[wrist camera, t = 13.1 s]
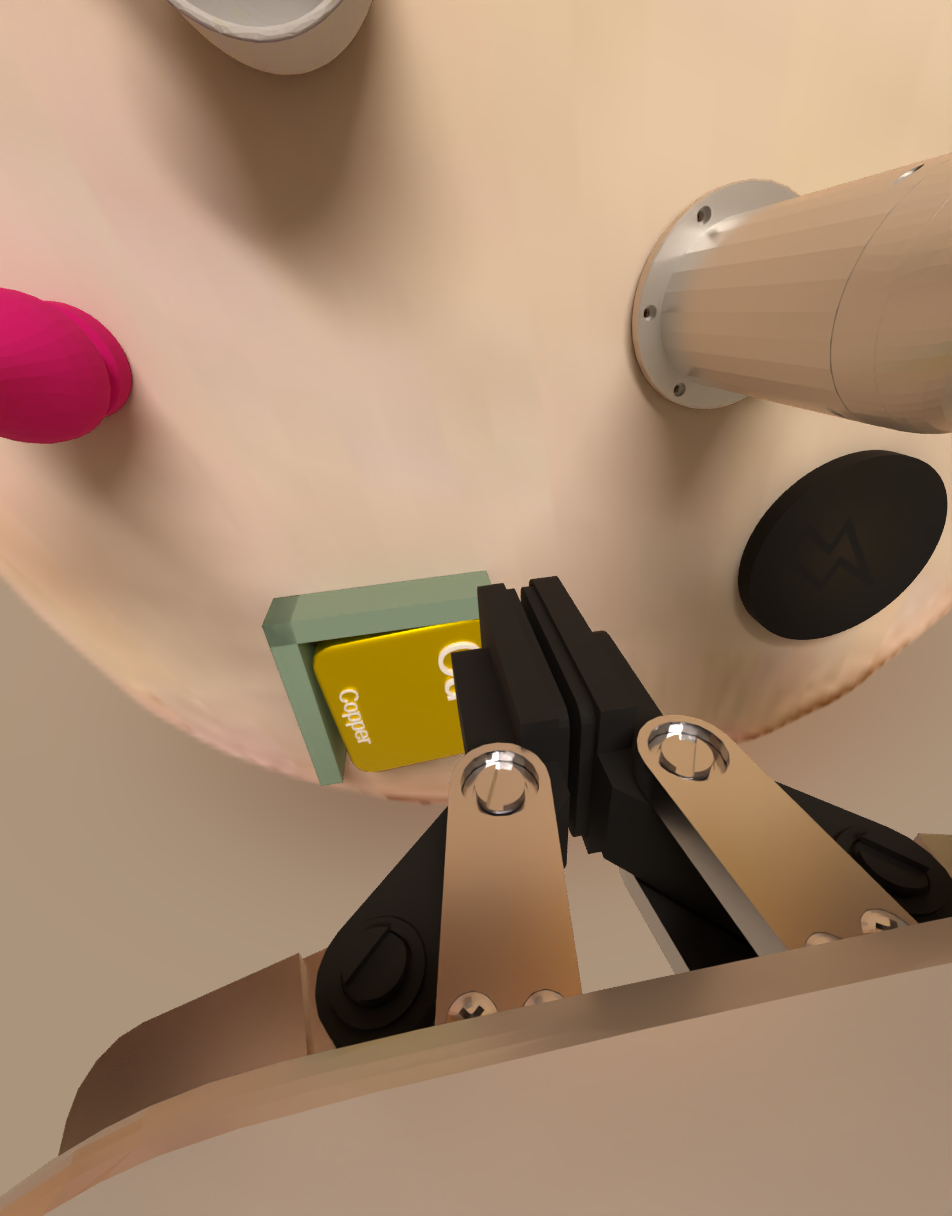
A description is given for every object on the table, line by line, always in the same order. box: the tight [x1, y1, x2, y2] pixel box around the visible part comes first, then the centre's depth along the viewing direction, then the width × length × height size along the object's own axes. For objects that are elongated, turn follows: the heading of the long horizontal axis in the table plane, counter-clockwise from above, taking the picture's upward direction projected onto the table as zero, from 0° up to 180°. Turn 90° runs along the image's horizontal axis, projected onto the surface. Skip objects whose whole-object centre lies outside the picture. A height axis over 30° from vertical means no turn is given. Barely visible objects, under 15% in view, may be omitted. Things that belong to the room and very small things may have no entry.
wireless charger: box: [738, 450, 947, 640], centre depth 44 cm, size 18×18×2 cm
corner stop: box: [262, 571, 491, 786], centre depth 43 cm, size 17×18×4 cm
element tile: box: [312, 619, 482, 772], centre depth 43 cm, size 15×15×5 cm
